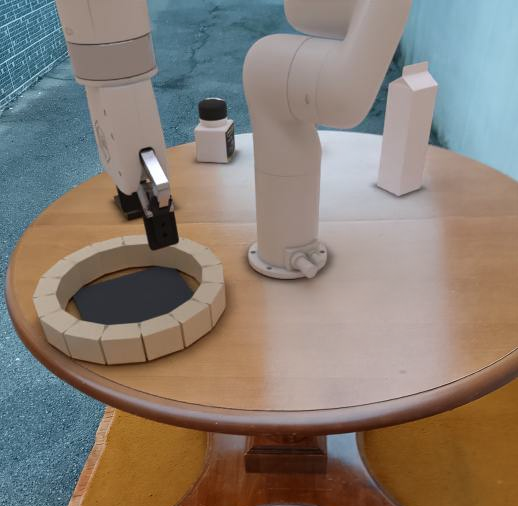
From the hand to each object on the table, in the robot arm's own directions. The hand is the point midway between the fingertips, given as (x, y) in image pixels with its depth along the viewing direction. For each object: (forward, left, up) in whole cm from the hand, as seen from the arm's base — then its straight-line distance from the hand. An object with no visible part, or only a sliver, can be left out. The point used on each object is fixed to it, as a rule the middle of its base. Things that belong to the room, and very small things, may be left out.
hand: (149, 226), depth 60 cm
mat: (+11, +1, -17) cm, 20 cm away
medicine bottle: (+57, -32, -17) cm, 67 cm away
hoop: (+11, +1, -17) cm, 20 cm away
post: (+42, -10, -17) cm, 46 cm away
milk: (+23, -56, -17) cm, 63 cm away
